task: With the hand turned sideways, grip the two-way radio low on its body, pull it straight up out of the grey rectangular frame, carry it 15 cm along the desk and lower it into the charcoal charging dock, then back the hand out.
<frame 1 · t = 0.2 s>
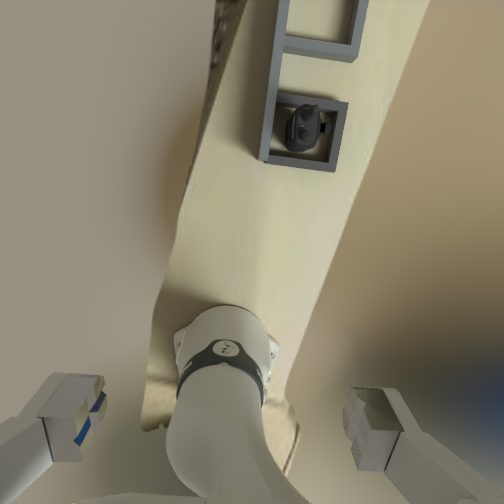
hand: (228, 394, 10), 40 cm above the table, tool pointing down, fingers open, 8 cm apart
dock: (318, 18, 41), on the table
two-way radio: (299, 134, 46), resting in grey rectangular frame
grey rectangular frame: (299, 134, 45), on the table
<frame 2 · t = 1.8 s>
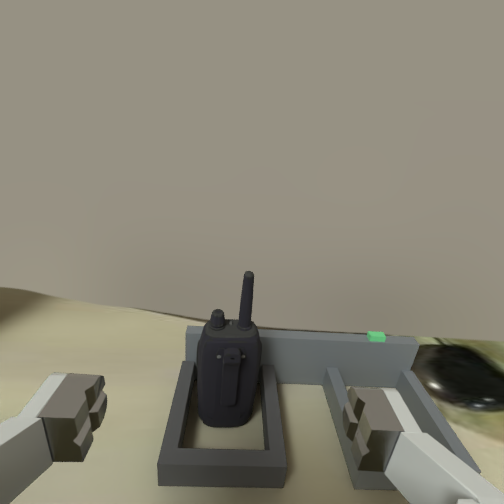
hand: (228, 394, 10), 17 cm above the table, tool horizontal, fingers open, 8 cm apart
dock: (381, 424, 29), on the table
two-way radio: (225, 420, 28), resting in grey rectangular frame
grey rectangular frame: (225, 419, 28), on the table
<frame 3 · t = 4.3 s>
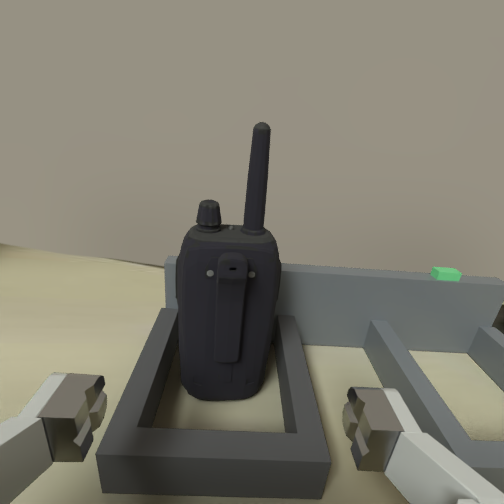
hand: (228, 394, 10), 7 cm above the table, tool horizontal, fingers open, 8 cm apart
dock: (461, 400, 19), on the table
two-way radio: (222, 392, 18), resting in grey rectangular frame
grey rectangular frame: (222, 389, 18), on the table
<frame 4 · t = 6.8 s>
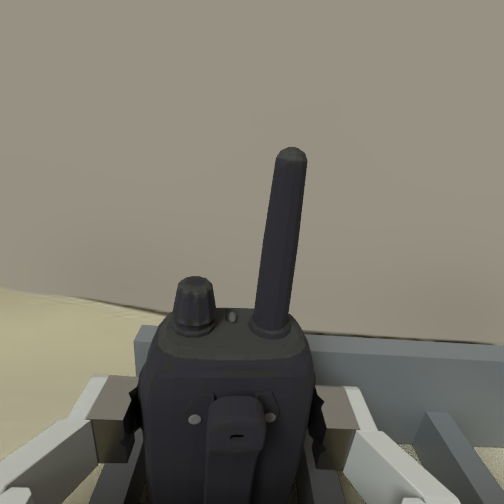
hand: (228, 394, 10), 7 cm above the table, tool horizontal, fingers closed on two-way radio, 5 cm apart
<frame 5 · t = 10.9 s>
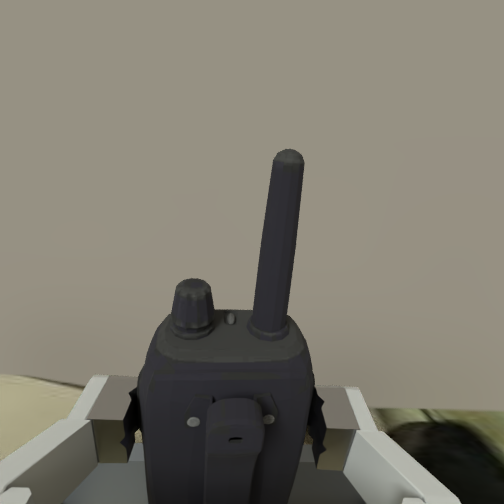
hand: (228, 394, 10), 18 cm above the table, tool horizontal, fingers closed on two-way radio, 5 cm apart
when the fingers open (8 cm above the table, at t = 15.1 s): two-way radio stays where it is, resting in dock.
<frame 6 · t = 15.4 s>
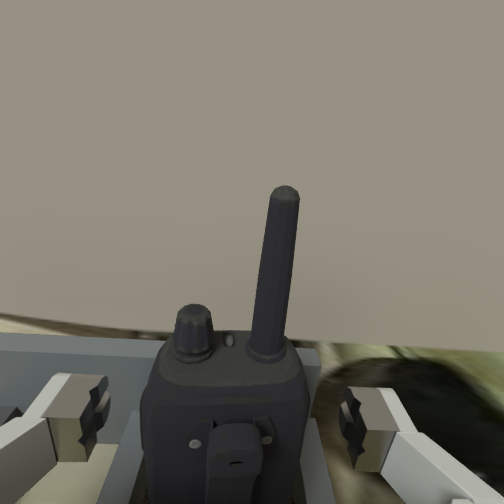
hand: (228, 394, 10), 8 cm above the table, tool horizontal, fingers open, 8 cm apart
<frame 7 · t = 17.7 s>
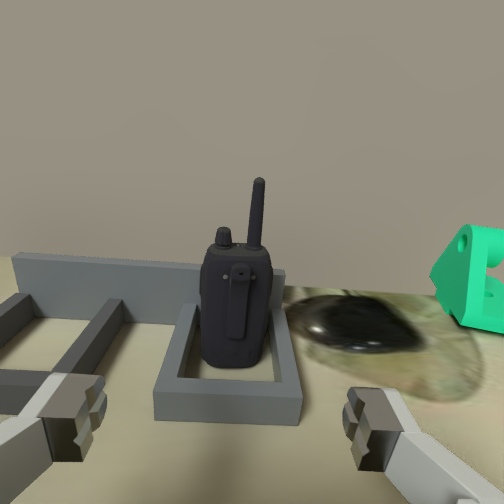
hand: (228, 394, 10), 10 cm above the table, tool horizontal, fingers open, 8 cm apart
camera mount: (473, 312, 37), on the table
dock: (230, 361, 25), on the table
two-way radio: (231, 363, 25), resting in dock
grey rectangular frame: (44, 351, 24), on the table
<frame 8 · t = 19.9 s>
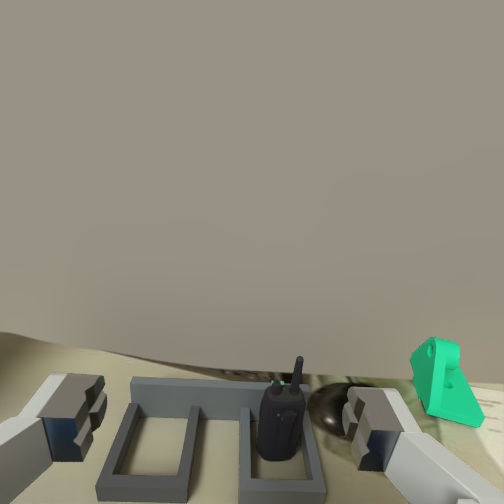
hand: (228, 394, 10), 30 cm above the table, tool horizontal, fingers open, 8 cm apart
camera mount: (439, 395, 51), on the table
dock: (275, 453, 39), on the table
two-way radio: (276, 455, 39), resting in dock
grey rectangular frame: (156, 449, 38), on the table
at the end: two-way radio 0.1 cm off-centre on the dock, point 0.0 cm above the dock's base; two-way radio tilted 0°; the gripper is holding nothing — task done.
